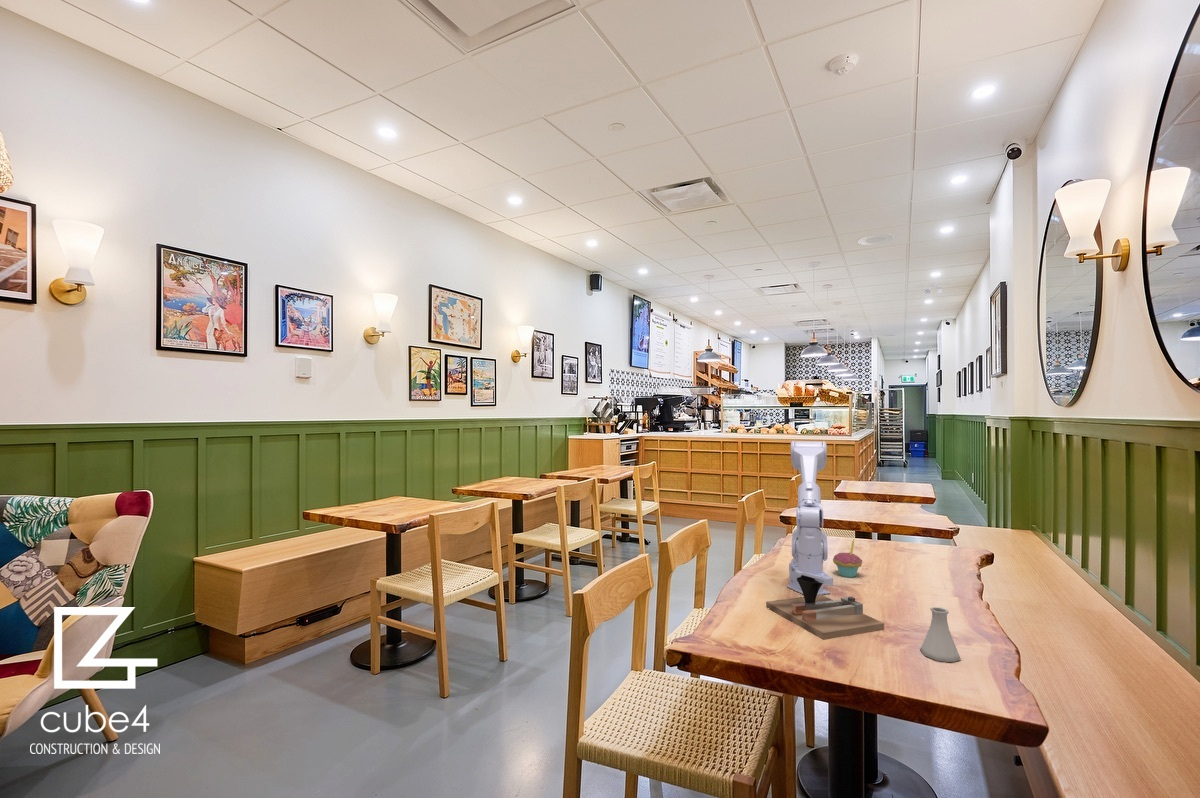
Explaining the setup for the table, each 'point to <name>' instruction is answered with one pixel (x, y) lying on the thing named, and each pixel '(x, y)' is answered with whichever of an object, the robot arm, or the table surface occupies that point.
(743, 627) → the table surface
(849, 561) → the cupcake
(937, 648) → the flask
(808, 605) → the tong arm
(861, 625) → the tongs board
